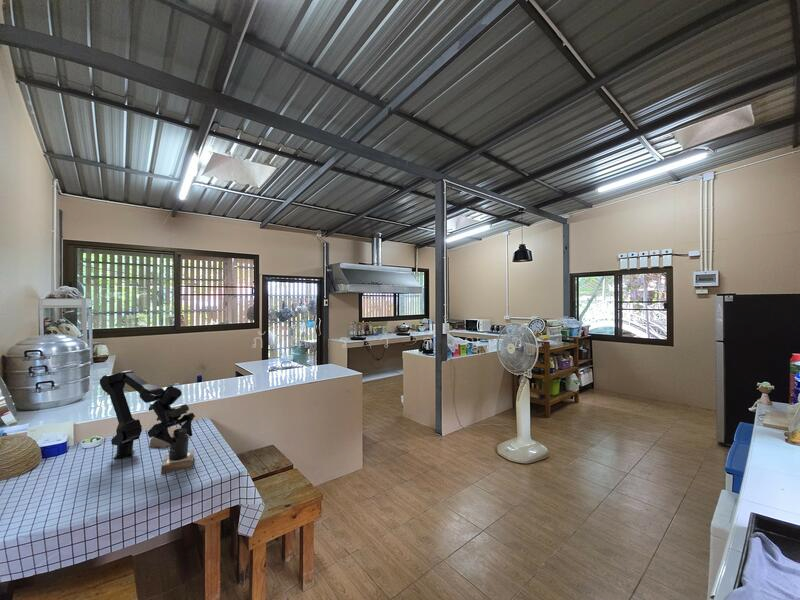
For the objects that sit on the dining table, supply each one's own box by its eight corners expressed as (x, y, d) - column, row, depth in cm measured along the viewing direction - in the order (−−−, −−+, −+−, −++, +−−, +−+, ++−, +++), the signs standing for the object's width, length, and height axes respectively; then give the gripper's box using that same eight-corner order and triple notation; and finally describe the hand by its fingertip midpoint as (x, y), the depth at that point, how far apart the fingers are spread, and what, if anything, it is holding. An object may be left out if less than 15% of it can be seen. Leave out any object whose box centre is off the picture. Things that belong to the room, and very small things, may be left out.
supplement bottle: (165, 461, 135) (167, 433, 135) (172, 454, 141) (174, 427, 142) (183, 460, 136) (185, 432, 137) (190, 453, 143) (191, 426, 143)
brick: (164, 448, 155) (165, 438, 156) (148, 447, 155) (149, 437, 156) (188, 435, 172) (188, 426, 172) (173, 434, 172) (173, 426, 172)
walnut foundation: (164, 462, 140) (164, 455, 141) (193, 457, 146) (194, 450, 146) (161, 473, 131) (161, 465, 131) (192, 467, 137) (193, 460, 137)
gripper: (155, 405, 132) (174, 435, 129) (193, 395, 150) (211, 421, 147) (138, 422, 133) (157, 452, 130) (178, 410, 151) (195, 436, 148)
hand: (182, 439), depth 139 cm, fingers open, 9 cm apart
